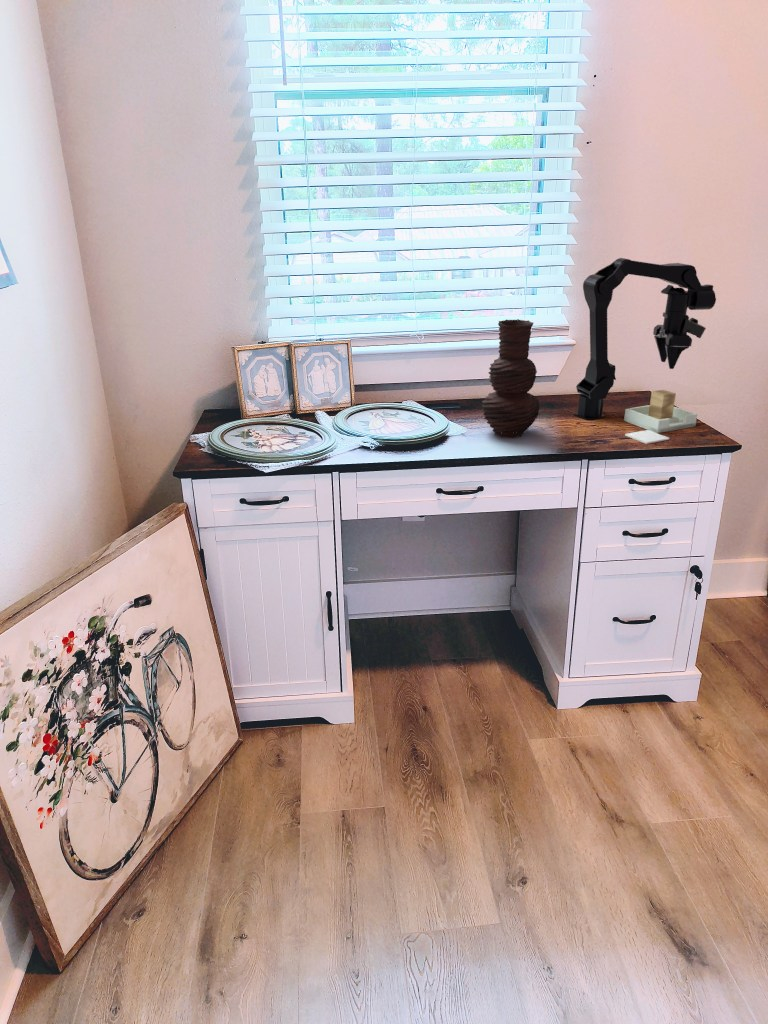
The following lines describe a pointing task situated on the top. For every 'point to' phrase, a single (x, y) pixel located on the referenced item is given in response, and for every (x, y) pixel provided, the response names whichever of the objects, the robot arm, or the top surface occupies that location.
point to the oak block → (662, 404)
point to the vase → (512, 382)
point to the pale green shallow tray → (663, 425)
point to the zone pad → (647, 436)
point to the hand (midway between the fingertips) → (667, 365)
